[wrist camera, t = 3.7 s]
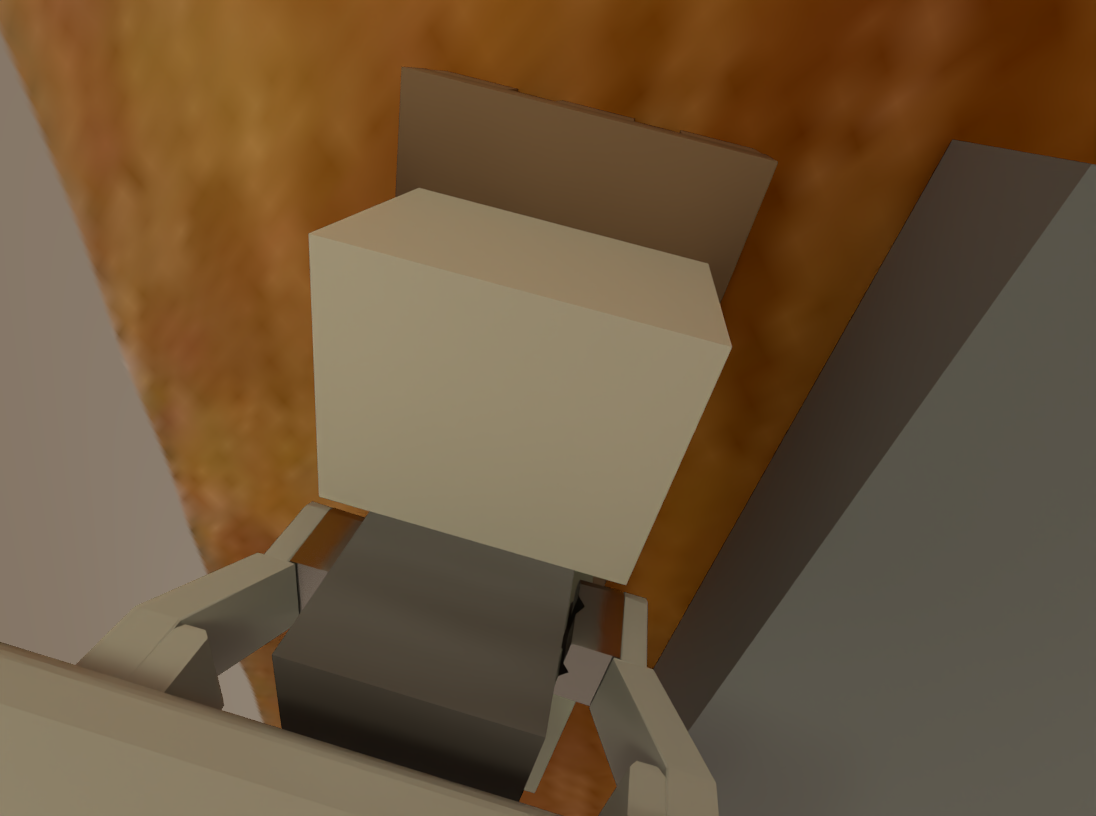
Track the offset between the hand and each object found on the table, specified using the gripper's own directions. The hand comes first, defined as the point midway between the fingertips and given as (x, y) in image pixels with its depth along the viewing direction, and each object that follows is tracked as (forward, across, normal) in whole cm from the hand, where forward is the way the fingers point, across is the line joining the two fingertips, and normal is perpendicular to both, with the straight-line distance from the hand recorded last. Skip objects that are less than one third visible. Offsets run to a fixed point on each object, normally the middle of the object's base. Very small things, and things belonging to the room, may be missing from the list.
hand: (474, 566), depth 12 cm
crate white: (+3, 0, -4) cm, 5 cm away
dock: (+5, -12, +1) cm, 14 cm away
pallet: (+5, 0, 0) cm, 5 cm away
